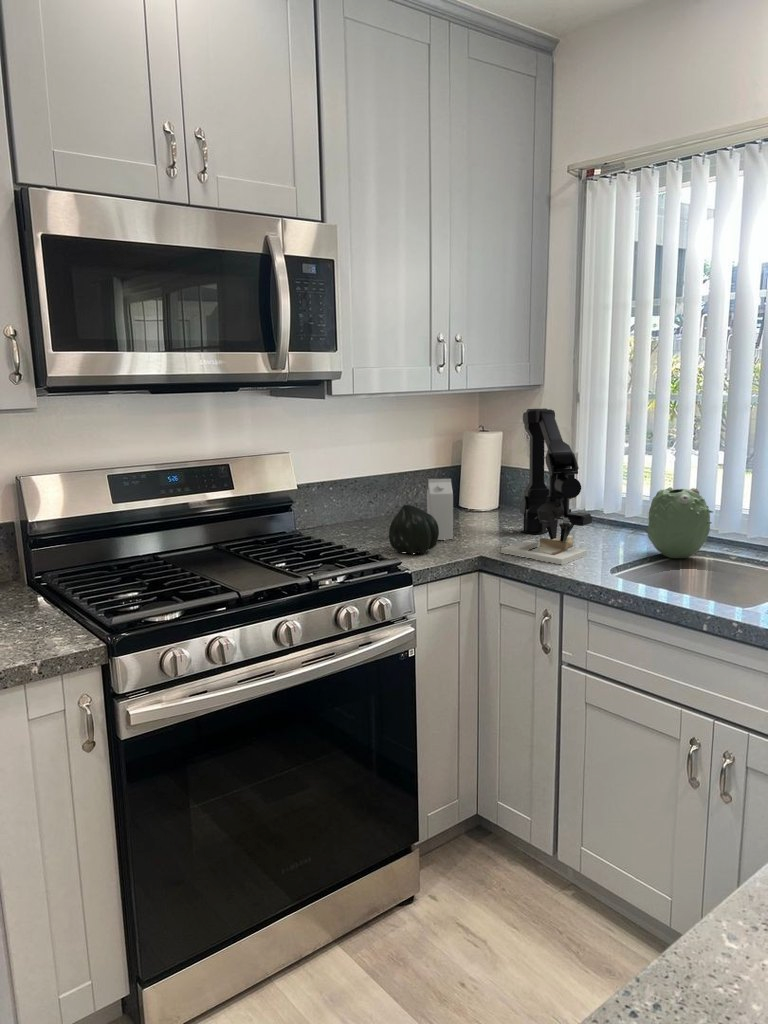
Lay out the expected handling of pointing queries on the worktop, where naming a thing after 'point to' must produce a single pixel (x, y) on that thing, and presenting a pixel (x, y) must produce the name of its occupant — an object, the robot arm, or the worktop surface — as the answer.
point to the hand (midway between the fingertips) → (557, 544)
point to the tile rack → (558, 558)
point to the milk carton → (441, 505)
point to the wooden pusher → (557, 543)
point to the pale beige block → (547, 550)
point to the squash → (413, 530)
